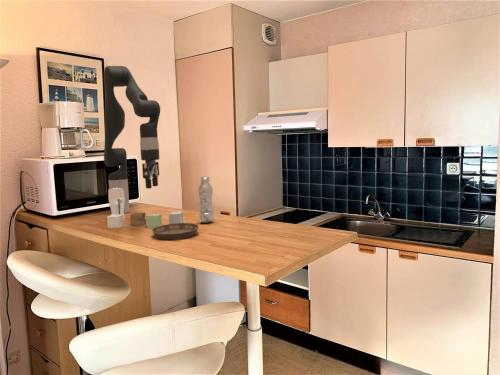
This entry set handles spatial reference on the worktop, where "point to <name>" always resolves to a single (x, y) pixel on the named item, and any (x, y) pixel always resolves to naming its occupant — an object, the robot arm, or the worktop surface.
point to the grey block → (176, 217)
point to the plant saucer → (175, 231)
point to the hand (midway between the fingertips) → (152, 187)
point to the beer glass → (116, 201)
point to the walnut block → (138, 219)
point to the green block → (154, 220)
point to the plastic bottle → (205, 201)
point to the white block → (115, 221)
